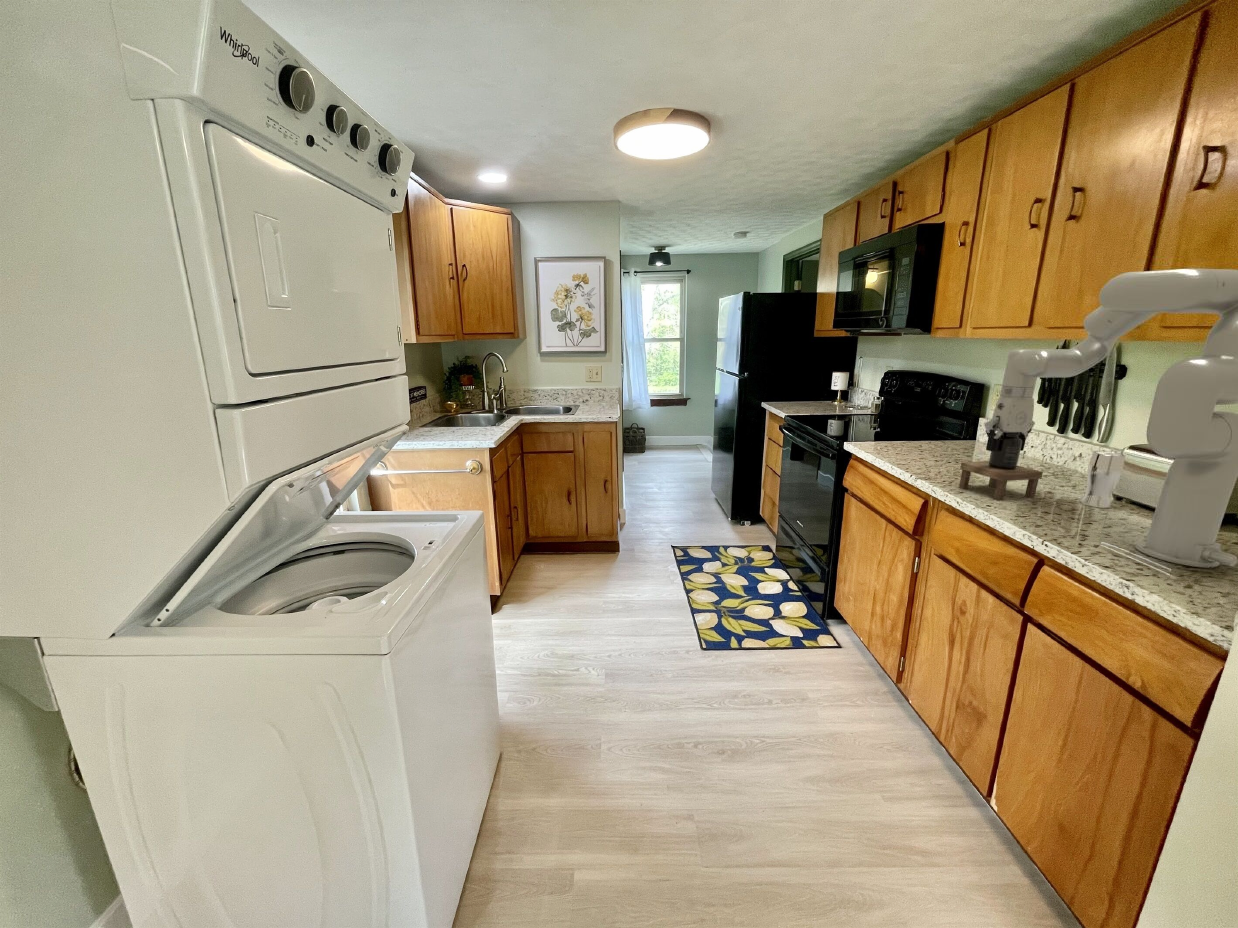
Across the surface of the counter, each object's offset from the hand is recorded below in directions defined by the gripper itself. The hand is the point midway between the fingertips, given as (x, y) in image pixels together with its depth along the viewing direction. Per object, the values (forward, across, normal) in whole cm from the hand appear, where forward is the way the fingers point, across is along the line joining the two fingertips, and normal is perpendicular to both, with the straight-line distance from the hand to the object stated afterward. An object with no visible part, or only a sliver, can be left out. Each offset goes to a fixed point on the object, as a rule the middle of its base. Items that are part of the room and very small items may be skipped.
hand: (1004, 450), depth 149 cm
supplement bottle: (+5, 0, 0) cm, 5 cm away
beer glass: (+13, +18, -15) cm, 27 cm away
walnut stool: (+13, 0, 0) cm, 13 cm away
